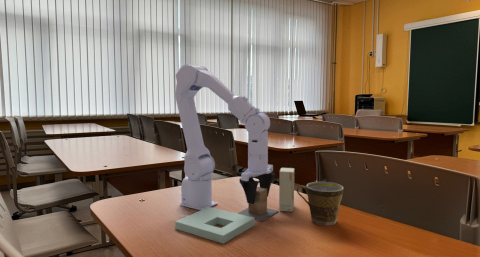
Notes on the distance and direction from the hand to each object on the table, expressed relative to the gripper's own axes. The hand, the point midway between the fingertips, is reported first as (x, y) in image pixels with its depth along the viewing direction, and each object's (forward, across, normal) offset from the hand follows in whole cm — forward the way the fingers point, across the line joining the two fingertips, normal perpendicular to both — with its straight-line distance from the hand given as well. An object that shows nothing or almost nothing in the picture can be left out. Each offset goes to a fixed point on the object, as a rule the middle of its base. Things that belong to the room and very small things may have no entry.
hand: (257, 199), depth 101 cm
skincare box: (+4, +9, -5) cm, 11 cm away
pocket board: (+4, -15, +4) cm, 16 cm away
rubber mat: (+4, 0, 0) cm, 4 cm away
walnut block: (+4, 0, 0) cm, 4 cm away
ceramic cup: (+4, +5, -17) cm, 18 cm away
